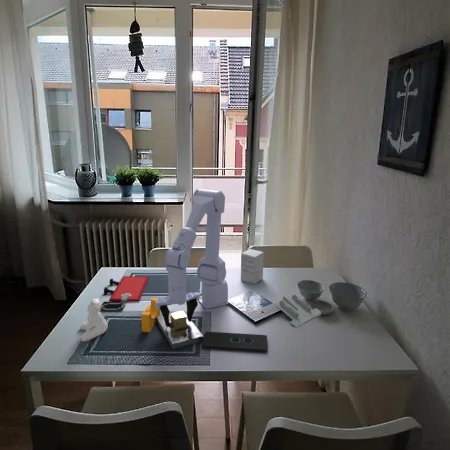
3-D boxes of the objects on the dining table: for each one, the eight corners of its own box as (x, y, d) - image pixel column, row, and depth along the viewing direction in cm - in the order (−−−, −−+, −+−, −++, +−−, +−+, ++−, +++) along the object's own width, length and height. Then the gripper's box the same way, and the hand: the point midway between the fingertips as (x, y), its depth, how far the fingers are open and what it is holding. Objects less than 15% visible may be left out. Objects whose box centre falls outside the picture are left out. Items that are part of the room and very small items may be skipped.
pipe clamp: (148, 313, 134) (147, 297, 132) (160, 314, 134) (159, 298, 132) (137, 331, 123) (136, 314, 121) (149, 332, 122) (148, 315, 120)
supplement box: (249, 274, 168) (249, 248, 165) (263, 278, 164) (264, 251, 161) (240, 280, 163) (240, 253, 159) (254, 284, 158) (255, 256, 155)
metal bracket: (270, 300, 133) (296, 288, 143) (266, 312, 136) (292, 300, 145) (300, 325, 124) (326, 311, 134) (295, 338, 127) (321, 323, 137)
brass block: (182, 326, 126) (182, 310, 124) (186, 332, 122) (186, 316, 120) (171, 329, 124) (170, 313, 122) (175, 335, 120) (174, 319, 119)
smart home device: (267, 349, 111) (201, 345, 113) (267, 354, 112) (201, 350, 114) (267, 334, 119) (205, 330, 121) (266, 339, 120) (205, 335, 121)
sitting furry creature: (79, 327, 124) (76, 295, 121) (106, 322, 127) (104, 290, 124) (81, 343, 116) (77, 308, 113) (110, 337, 119) (107, 303, 116)
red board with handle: (93, 312, 135) (135, 312, 135) (93, 304, 134) (135, 305, 134) (114, 279, 164) (149, 279, 164) (114, 273, 163) (148, 273, 163)
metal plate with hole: (183, 315, 133) (183, 309, 132) (203, 340, 118) (203, 335, 117) (155, 321, 129) (155, 316, 128) (173, 349, 113) (173, 343, 113)
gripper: (159, 294, 112) (160, 334, 116) (203, 285, 118) (203, 323, 122) (152, 285, 118) (154, 323, 122) (194, 277, 124) (195, 313, 128)
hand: (178, 322), depth 122 cm, fingers open, 7 cm apart
